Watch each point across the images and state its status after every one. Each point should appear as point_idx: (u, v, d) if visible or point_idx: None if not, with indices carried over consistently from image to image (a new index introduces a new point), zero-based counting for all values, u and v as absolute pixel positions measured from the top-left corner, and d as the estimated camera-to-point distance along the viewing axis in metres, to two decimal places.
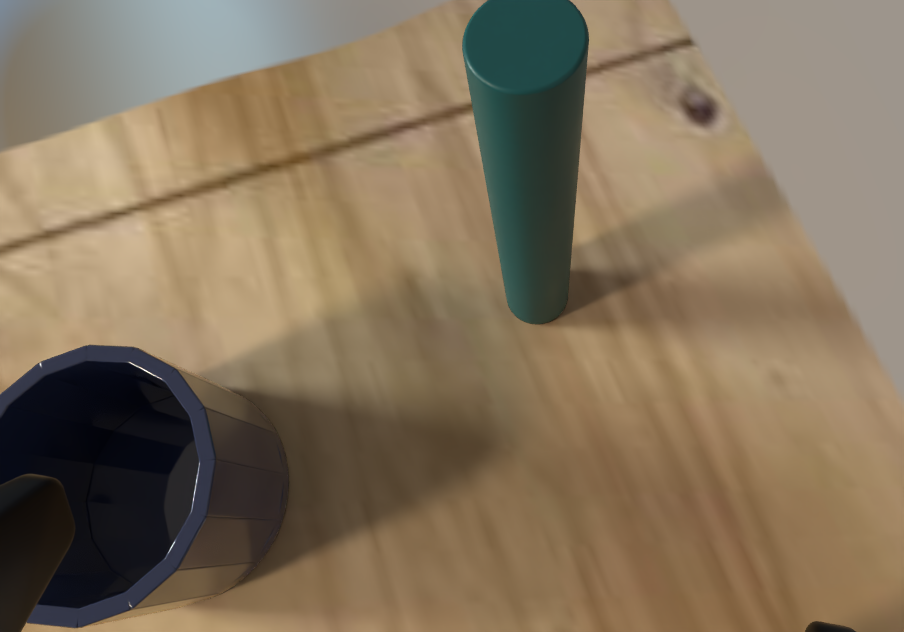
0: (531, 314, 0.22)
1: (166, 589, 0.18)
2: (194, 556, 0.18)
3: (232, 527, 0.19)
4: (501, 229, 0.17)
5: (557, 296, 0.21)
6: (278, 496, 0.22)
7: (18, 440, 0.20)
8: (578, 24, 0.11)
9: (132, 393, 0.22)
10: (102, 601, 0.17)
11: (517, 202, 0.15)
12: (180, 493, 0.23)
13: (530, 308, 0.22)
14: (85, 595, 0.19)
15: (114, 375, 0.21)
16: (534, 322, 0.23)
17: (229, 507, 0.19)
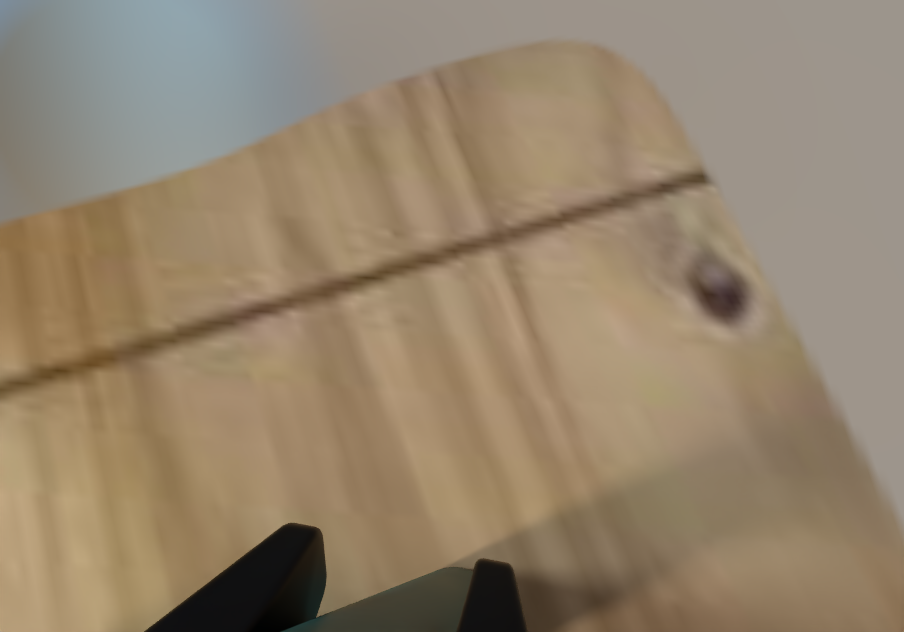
0: None
1: None
2: None
3: None
4: None
5: None
6: None
7: None
8: None
9: None
10: None
11: None
12: None
13: None
14: None
15: None
16: None
17: None
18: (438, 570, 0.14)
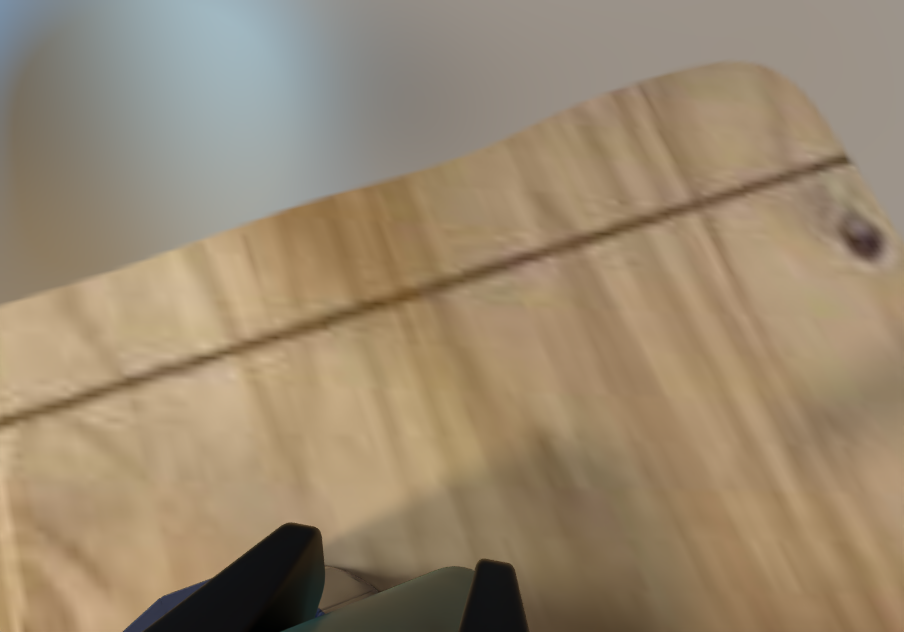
0: None
1: None
2: None
3: None
4: None
5: None
6: None
7: None
8: None
9: None
10: None
11: None
12: None
13: None
14: None
15: None
16: None
17: None
18: (439, 569, 0.14)
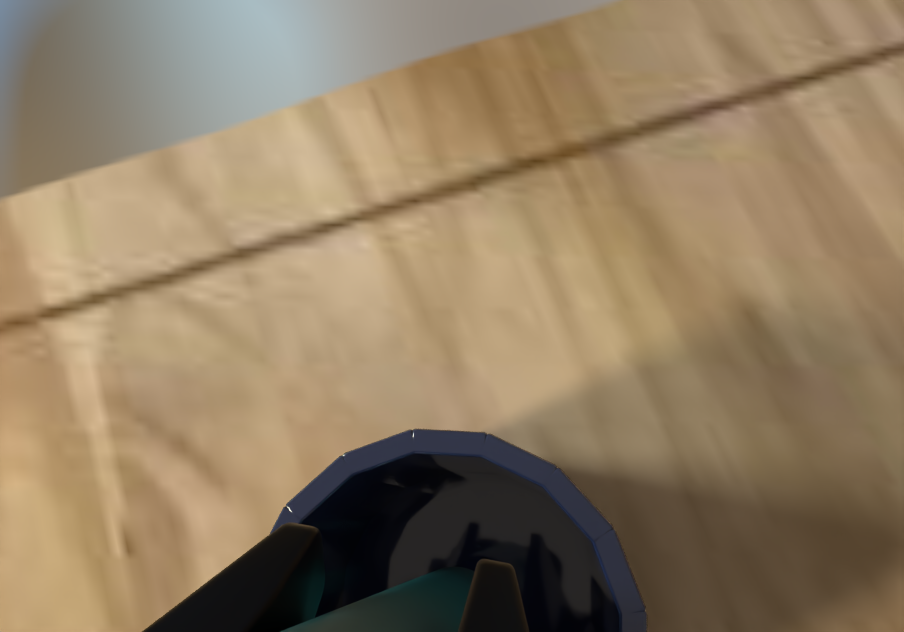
0: None
1: None
2: None
3: None
4: None
5: None
6: None
7: None
8: None
9: (413, 477, 0.16)
10: None
11: None
12: None
13: None
14: None
15: (421, 463, 0.14)
16: None
17: None
18: (438, 569, 0.14)
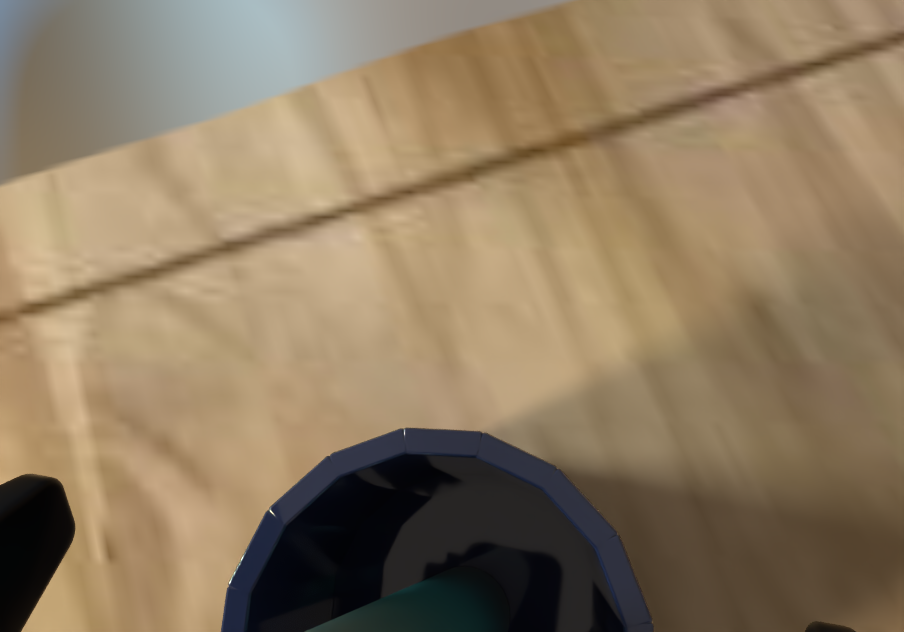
0: None
1: None
2: None
3: None
4: None
5: None
6: None
7: (284, 570, 0.13)
8: None
9: (406, 479, 0.15)
10: None
11: None
12: None
13: None
14: None
15: (413, 464, 0.14)
16: None
17: None
18: (450, 569, 0.16)
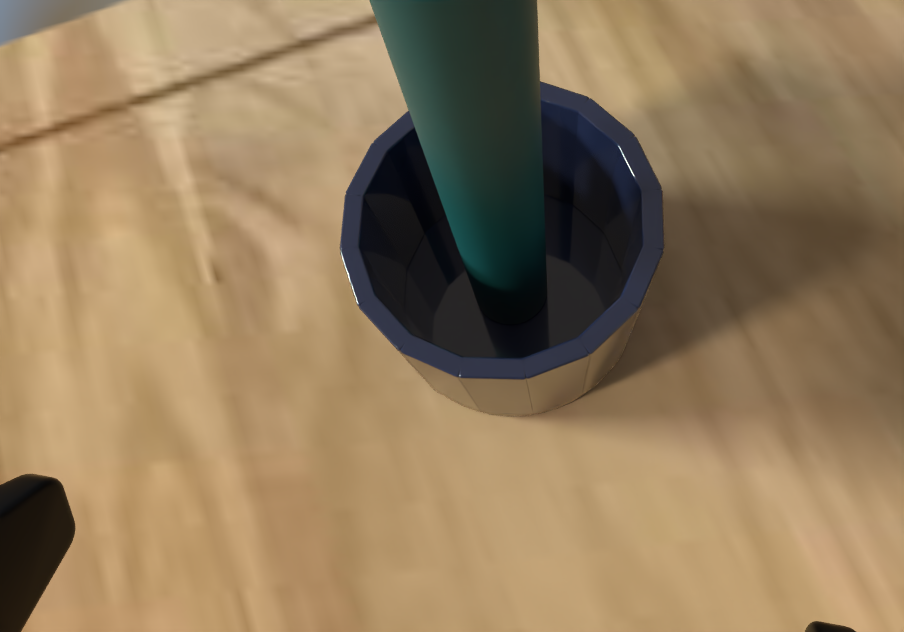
0: (502, 312, 0.19)
1: (610, 341, 0.15)
2: (643, 301, 0.15)
3: None
4: (449, 210, 0.13)
5: (531, 291, 0.18)
6: None
7: (382, 203, 0.17)
8: None
9: None
10: (551, 348, 0.14)
11: (460, 172, 0.11)
12: None
13: (500, 306, 0.18)
14: None
15: None
16: (508, 322, 0.20)
17: None
18: None
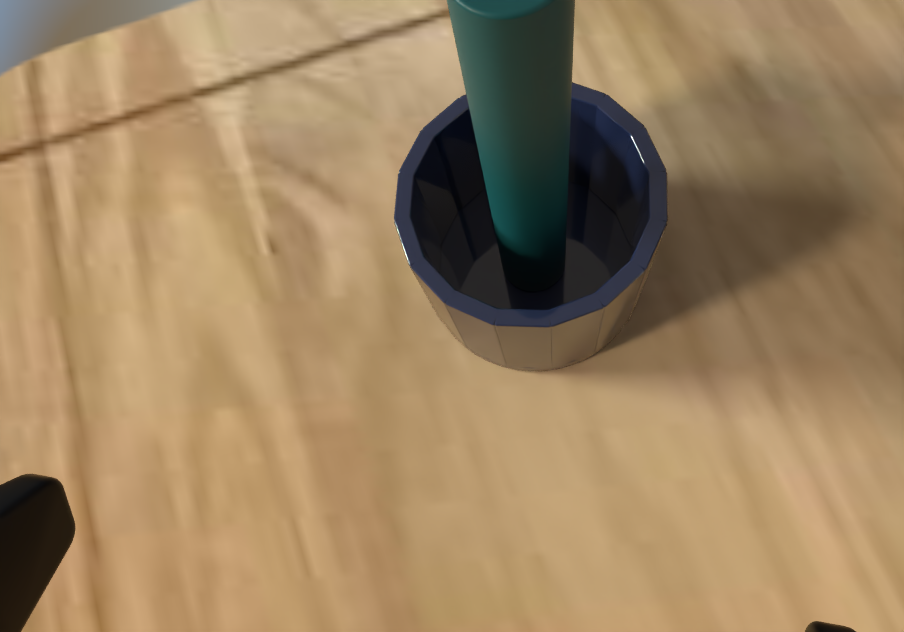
0: (527, 280, 0.22)
1: (621, 298, 0.18)
2: (649, 264, 0.18)
3: (654, 256, 0.19)
4: (492, 183, 0.16)
5: (553, 260, 0.21)
6: None
7: (427, 182, 0.20)
8: None
9: None
10: (572, 301, 0.17)
11: (506, 150, 0.14)
12: None
13: (525, 274, 0.21)
14: None
15: None
16: (530, 289, 0.23)
17: None
18: None
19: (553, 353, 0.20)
